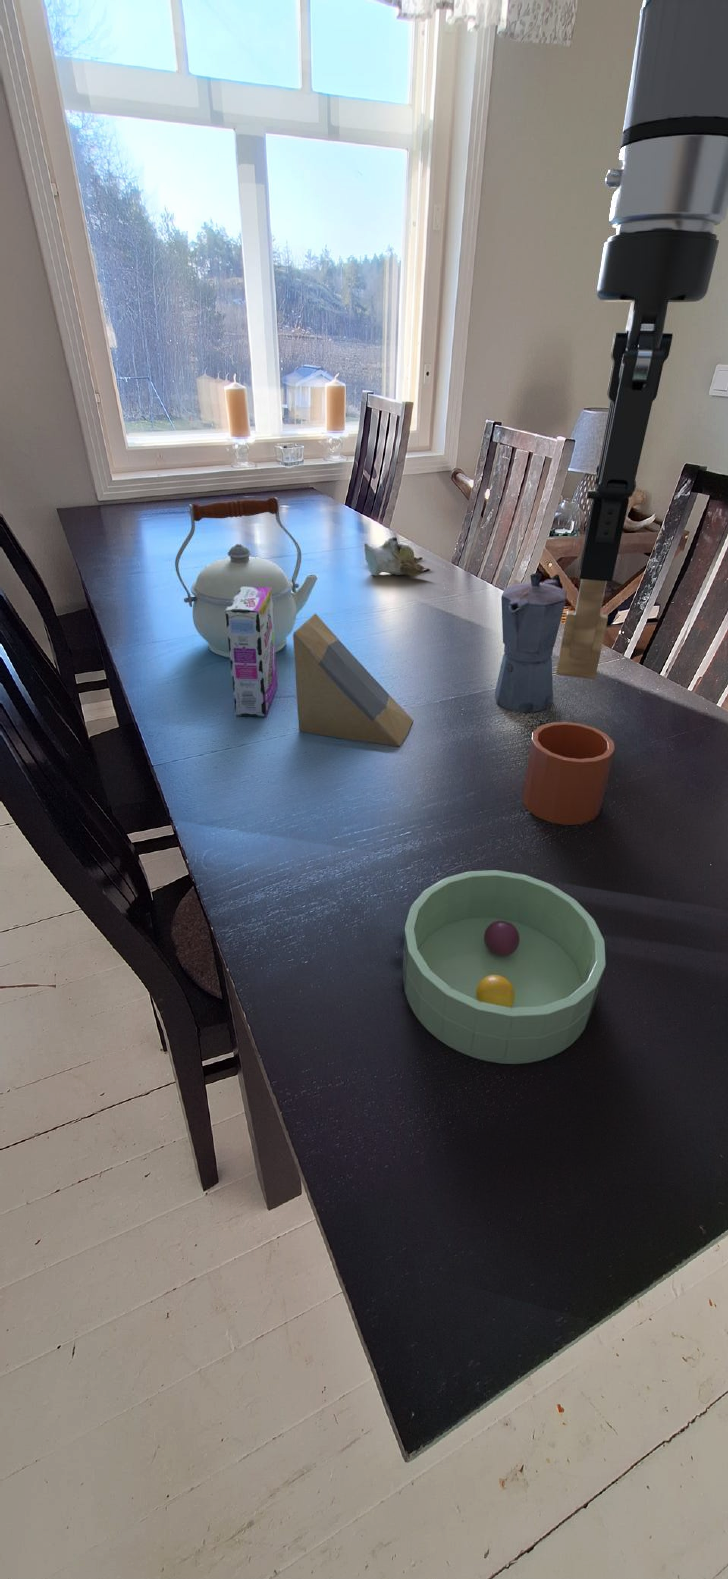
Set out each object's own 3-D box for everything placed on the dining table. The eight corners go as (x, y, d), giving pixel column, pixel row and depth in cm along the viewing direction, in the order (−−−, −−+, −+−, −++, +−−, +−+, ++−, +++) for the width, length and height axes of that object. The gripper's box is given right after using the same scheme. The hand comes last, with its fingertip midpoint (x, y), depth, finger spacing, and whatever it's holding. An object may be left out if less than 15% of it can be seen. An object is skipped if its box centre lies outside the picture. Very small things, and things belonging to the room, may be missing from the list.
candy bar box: (268, 718, 103) (259, 611, 94) (234, 717, 103) (222, 610, 94) (279, 685, 113) (272, 585, 103) (249, 684, 113) (239, 584, 104)
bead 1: (518, 941, 65) (522, 916, 63) (516, 966, 63) (520, 941, 61) (484, 935, 66) (487, 910, 64) (480, 960, 63) (484, 935, 62)
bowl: (589, 933, 67) (602, 886, 64) (594, 1084, 54) (609, 1036, 50) (420, 903, 70) (423, 858, 67) (385, 1039, 57) (386, 991, 54)
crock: (596, 797, 86) (612, 726, 81) (598, 840, 79) (616, 766, 73) (522, 787, 88) (533, 717, 82) (518, 829, 81) (530, 755, 75)
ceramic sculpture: (361, 530, 162) (424, 532, 164) (359, 567, 166) (420, 569, 168) (367, 542, 153) (433, 544, 155) (365, 581, 158) (429, 583, 160)
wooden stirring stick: (594, 672, 67) (646, 428, 55) (595, 682, 65) (648, 432, 53) (556, 668, 68) (599, 426, 56) (555, 677, 66) (600, 430, 54)
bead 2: (513, 996, 60) (518, 970, 58) (510, 1026, 57) (515, 1000, 56) (476, 988, 61) (480, 963, 59) (472, 1018, 58) (475, 992, 56)
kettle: (200, 673, 116) (178, 518, 102) (178, 636, 130) (156, 494, 116) (337, 650, 125) (335, 503, 111) (303, 617, 139) (296, 483, 125)
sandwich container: (400, 747, 96) (404, 645, 88) (297, 732, 100) (292, 632, 91) (414, 719, 103) (419, 622, 95) (317, 706, 107) (314, 611, 98)
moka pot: (472, 709, 106) (485, 578, 95) (515, 674, 116) (531, 553, 105) (531, 726, 101) (552, 591, 90) (569, 689, 112) (592, 563, 101)
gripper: (604, 242, 55) (555, 548, 68) (608, 219, 42) (547, 597, 56) (706, 241, 53) (635, 554, 66) (740, 216, 41) (645, 606, 54)
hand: (595, 573), depth 61 cm, fingers closed on wooden stirring stick, 2 cm apart
